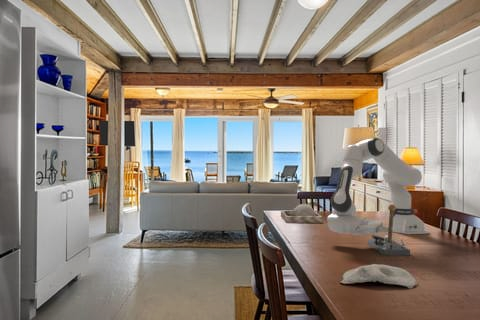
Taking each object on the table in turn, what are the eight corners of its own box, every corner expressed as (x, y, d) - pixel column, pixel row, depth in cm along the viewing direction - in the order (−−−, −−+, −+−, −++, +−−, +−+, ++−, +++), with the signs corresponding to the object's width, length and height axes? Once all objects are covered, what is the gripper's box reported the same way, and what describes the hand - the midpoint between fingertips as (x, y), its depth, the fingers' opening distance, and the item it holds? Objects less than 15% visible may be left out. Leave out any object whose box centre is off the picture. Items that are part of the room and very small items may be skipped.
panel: (391, 244, 186) (391, 234, 186) (410, 255, 166) (410, 244, 166) (367, 244, 186) (368, 234, 186) (384, 255, 166) (384, 244, 166)
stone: (409, 266, 139) (425, 281, 124) (405, 284, 139) (421, 301, 125) (337, 253, 142) (344, 266, 127) (334, 271, 142) (340, 286, 127)
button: (389, 240, 183) (390, 235, 183) (392, 241, 180) (392, 237, 180) (383, 240, 183) (383, 235, 183) (386, 241, 180) (386, 236, 180)
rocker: (381, 239, 184) (381, 236, 184) (383, 241, 180) (384, 238, 180) (371, 237, 183) (372, 234, 183) (374, 238, 180) (374, 236, 180)
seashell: (302, 226, 262) (289, 209, 263) (317, 215, 260) (305, 198, 262) (303, 230, 247) (290, 212, 248) (320, 219, 245) (307, 201, 246)
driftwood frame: (313, 216, 266) (313, 210, 266) (322, 222, 241) (322, 216, 241) (280, 215, 265) (280, 210, 265) (285, 222, 241) (285, 216, 241)
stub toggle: (402, 248, 167) (399, 240, 168) (403, 247, 169) (400, 239, 170) (405, 248, 167) (402, 239, 167) (406, 247, 169) (403, 238, 169)
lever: (385, 246, 171) (387, 204, 170) (386, 244, 175) (389, 203, 174) (392, 247, 169) (395, 205, 168) (393, 245, 173) (396, 204, 172)
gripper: (353, 223, 171) (384, 226, 163) (364, 217, 188) (392, 219, 180) (353, 236, 171) (384, 240, 163) (364, 229, 188) (392, 232, 181)
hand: (389, 229), depth 172 cm, fingers closed, pressing on lever
